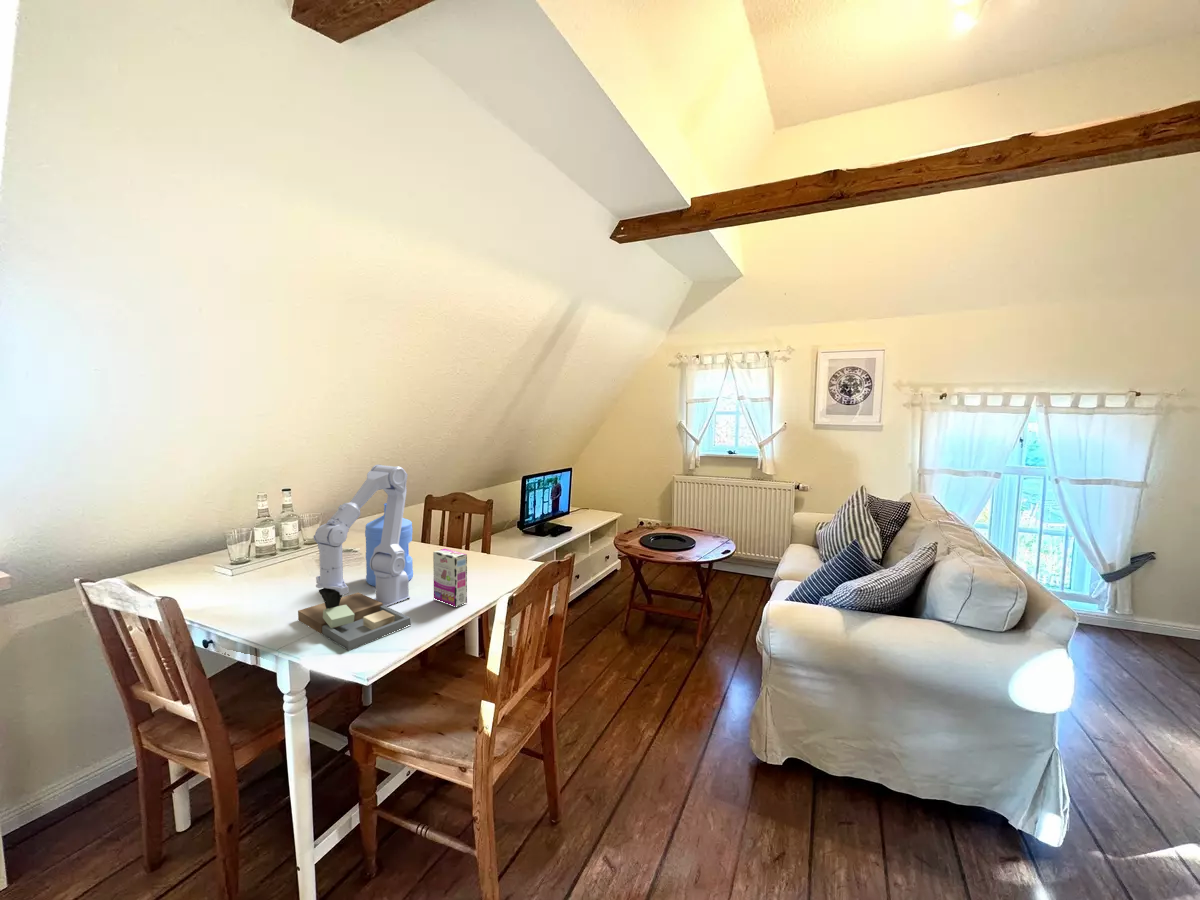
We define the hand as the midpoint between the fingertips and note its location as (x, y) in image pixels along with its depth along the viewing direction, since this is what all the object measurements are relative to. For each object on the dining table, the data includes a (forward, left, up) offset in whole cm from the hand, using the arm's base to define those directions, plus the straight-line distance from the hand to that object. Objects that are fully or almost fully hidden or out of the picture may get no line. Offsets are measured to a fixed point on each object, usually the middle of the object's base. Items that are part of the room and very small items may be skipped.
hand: (332, 612), depth 140 cm
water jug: (-31, -21, -4) cm, 37 cm away
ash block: (-8, +11, -1) cm, 13 cm away
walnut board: (-5, -4, -4) cm, 7 cm away
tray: (-5, +10, -4) cm, 12 cm away
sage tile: (0, +4, -1) cm, 4 cm away
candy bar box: (-32, +12, -4) cm, 34 cm away
